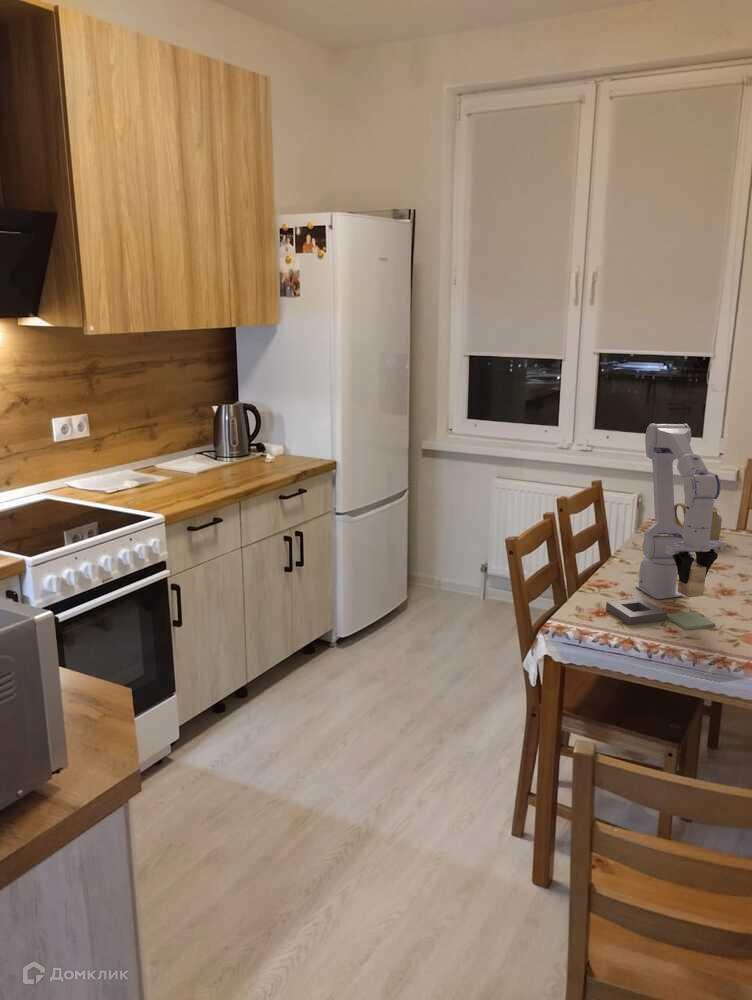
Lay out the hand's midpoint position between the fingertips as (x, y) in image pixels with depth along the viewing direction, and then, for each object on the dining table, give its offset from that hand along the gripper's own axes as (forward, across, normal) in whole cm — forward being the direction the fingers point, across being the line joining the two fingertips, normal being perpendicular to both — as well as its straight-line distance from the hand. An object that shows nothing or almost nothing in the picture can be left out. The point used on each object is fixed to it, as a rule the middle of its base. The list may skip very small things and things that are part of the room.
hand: (691, 581), depth 182 cm
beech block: (+3, 0, 0) cm, 3 cm away
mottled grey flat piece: (+11, +28, +40) cm, 50 cm away
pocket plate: (+10, -10, +7) cm, 15 cm away
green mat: (+10, 0, 0) cm, 10 cm away
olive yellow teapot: (+10, +45, +56) cm, 73 cm away
